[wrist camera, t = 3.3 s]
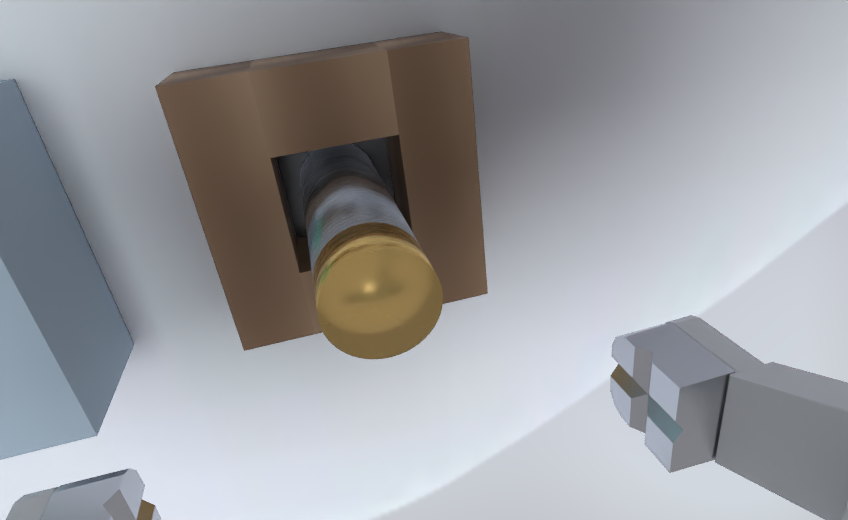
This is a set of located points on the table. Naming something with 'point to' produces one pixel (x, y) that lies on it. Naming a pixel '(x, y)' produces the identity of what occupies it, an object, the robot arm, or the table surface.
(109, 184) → the table surface
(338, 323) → the lock pin
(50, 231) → the dock
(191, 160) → the pin mount
